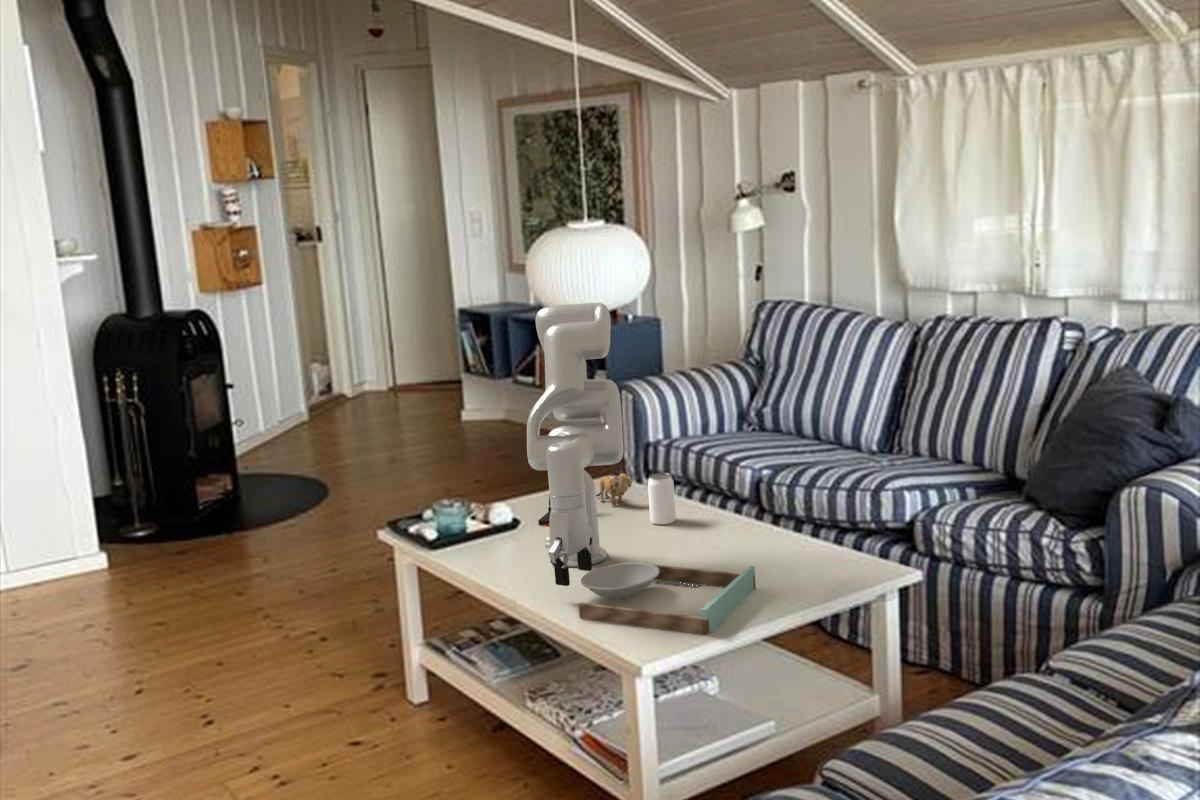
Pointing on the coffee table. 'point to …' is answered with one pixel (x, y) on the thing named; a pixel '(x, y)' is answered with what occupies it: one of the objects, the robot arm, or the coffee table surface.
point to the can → (661, 499)
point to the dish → (620, 579)
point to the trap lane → (711, 614)
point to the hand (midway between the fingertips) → (574, 577)
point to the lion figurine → (614, 487)
